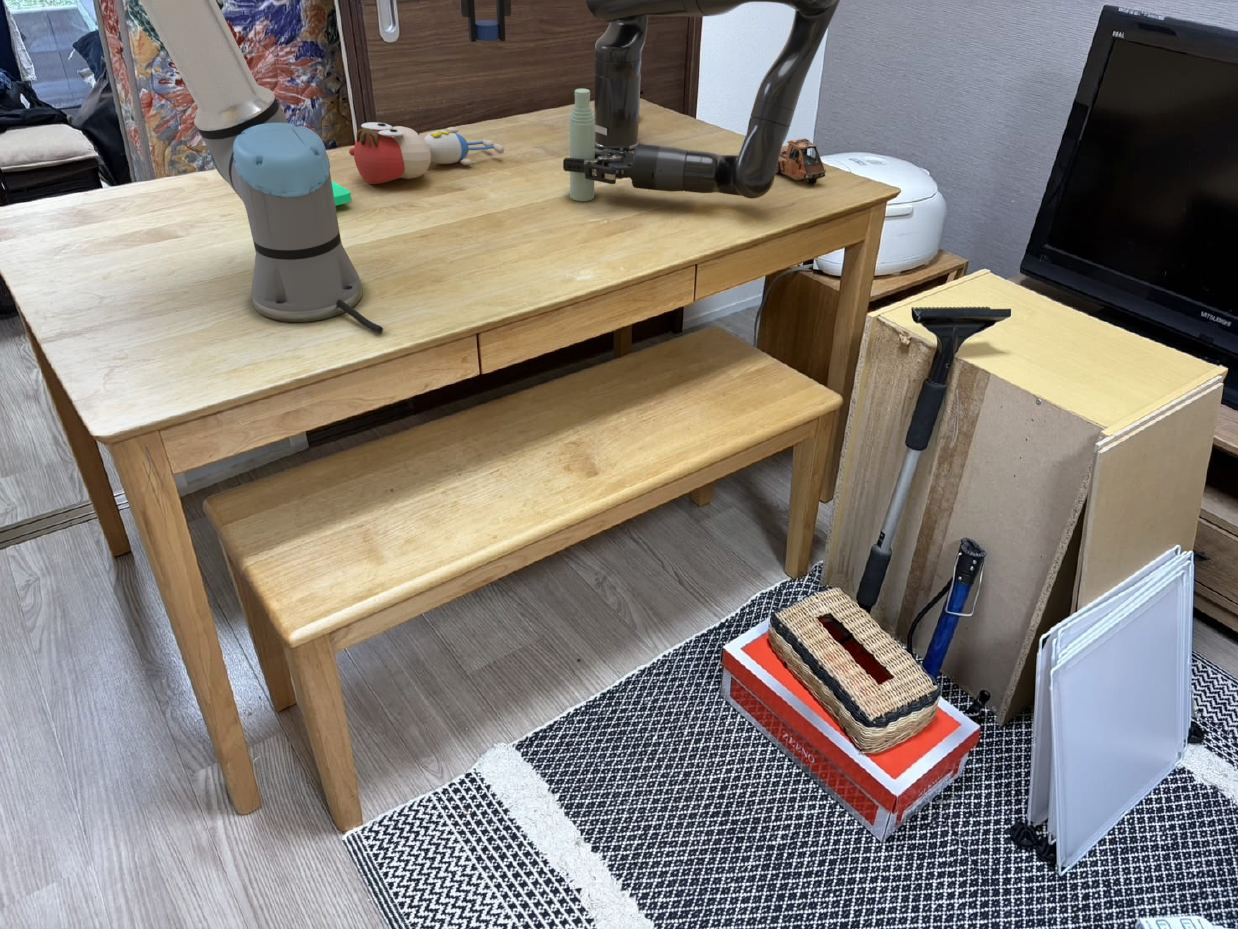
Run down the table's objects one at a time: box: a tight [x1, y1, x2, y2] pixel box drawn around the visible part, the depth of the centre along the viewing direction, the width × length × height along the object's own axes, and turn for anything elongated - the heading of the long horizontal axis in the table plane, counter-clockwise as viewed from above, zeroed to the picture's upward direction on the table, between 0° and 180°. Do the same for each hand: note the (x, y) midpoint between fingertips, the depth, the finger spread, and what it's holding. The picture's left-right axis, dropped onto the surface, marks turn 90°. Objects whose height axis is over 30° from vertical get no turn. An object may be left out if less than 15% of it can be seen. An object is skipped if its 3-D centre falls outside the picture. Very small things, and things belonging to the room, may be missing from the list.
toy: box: [348, 121, 505, 185], centre depth 177 cm, size 18×10×30 cm
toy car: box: [775, 138, 827, 186], centre depth 178 cm, size 6×12×7 cm, turn 39°
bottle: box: [569, 88, 596, 202], centre depth 164 cm, size 4×4×19 cm
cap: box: [475, 19, 500, 42], centre depth 142 cm, size 4×4×2 cm
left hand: (487, 38), depth 142 cm, fingers closed on cap, 4 cm apart
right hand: (567, 159), depth 166 cm, fingers closed on bottle, 4 cm apart
